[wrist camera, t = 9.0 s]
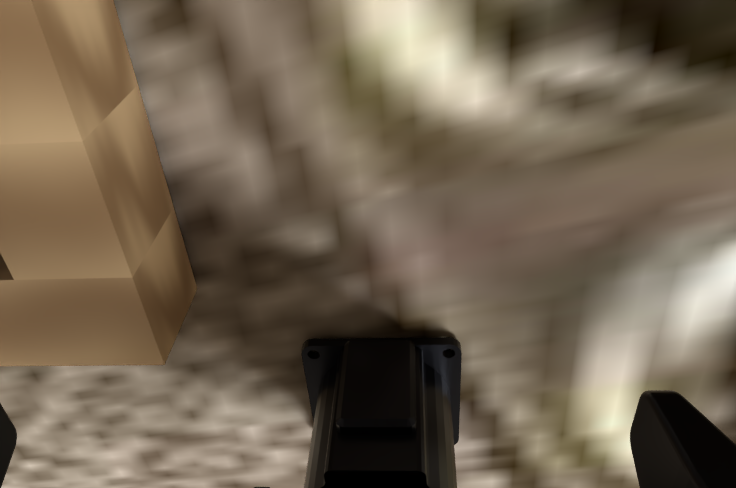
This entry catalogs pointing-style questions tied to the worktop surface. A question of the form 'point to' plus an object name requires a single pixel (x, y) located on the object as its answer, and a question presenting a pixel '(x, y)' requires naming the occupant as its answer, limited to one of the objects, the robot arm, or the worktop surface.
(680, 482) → the robot arm
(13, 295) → the socket block
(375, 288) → the worktop surface
